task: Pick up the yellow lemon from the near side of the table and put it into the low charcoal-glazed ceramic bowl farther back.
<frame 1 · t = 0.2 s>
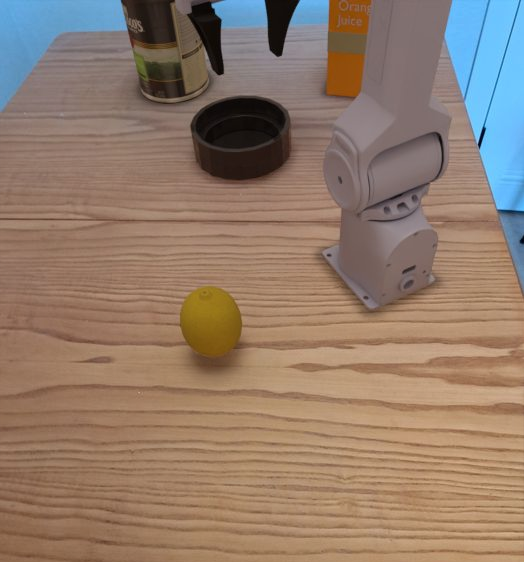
hand: (247, 62, 68), 10 cm above the table, tool pointing down, fingers open, 7 cm apart
coffee can: (175, 86, 85), on the table
bowl: (243, 154, 74), on the table
orange juice: (358, 82, 83), on the table
lemon: (216, 350, 55), on the table
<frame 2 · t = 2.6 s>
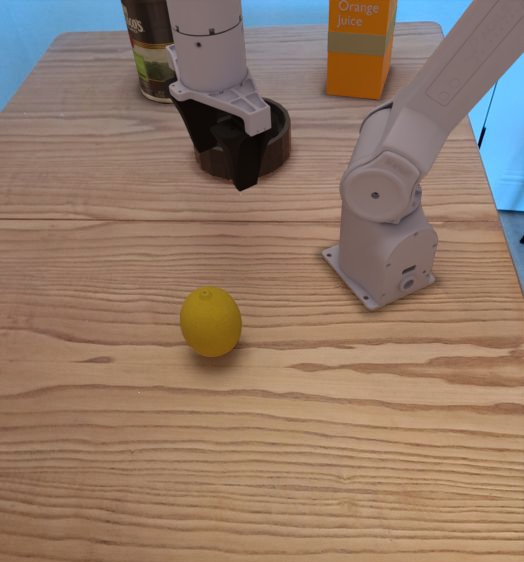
hand: (226, 166, 56), 10 cm above the table, tool pointing down, fingers open, 7 cm apart
nothing on the table moved.
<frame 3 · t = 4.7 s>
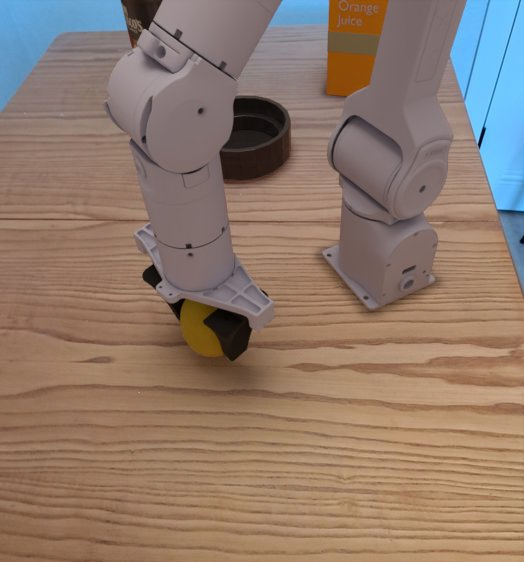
hand: (213, 336, 53), 2 cm above the table, tool pointing down, fingers closed on lemon, 5 cm apart
lemon: (217, 350, 55), on the table, touching gripper
everything else where it was.
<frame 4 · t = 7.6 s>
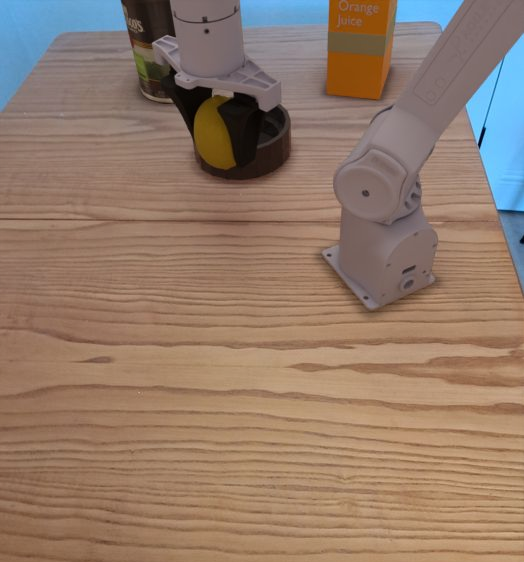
hand: (224, 151, 58), 9 cm above the table, tool pointing down, fingers closed on lemon, 5 cm apart
lemon: (226, 170, 60), point 7 cm above the table, touching gripper
everything else where it was.
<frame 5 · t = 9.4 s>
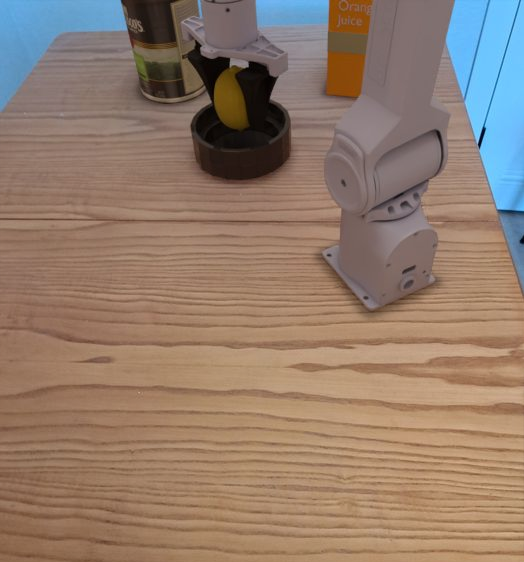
hand: (239, 115, 69), 5 cm above the table, tool pointing down, fingers closed on lemon, 5 cm apart
lemon: (240, 131, 71), point 3 cm above the table, touching gripper
everything else where it was.
when the fingers open (2 cm above the table, at t = 10.8 s): lemon stays where it is, resting on bowl.
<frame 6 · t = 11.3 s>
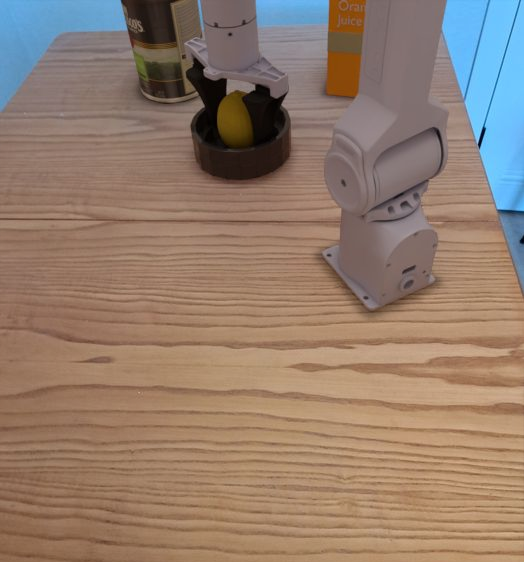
hand: (241, 132, 71), 3 cm above the table, tool pointing down, fingers open, 7 cm apart
lemon: (242, 152, 73), resting on bowl
everything else where it was.
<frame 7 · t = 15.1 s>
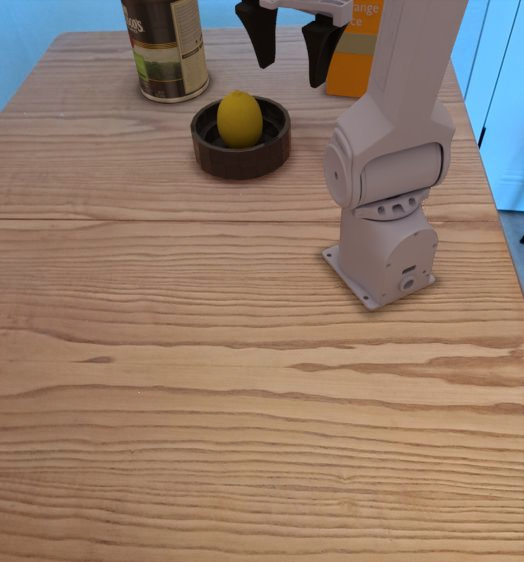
hand: (292, 74, 67), 9 cm above the table, tool pointing down, fingers open, 7 cm apart
nothing on the table moved.
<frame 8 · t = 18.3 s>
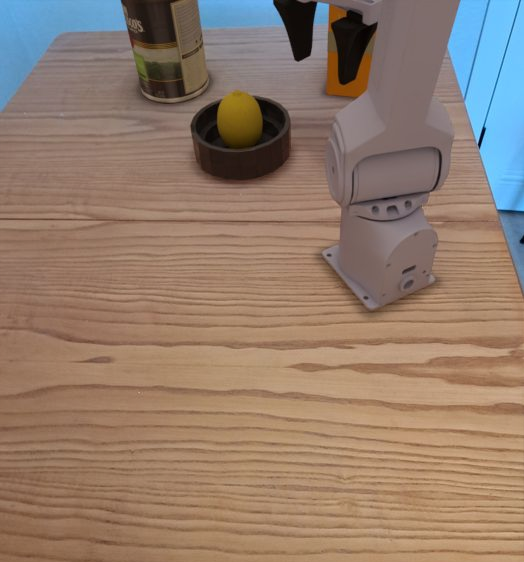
hand: (324, 69, 67), 9 cm above the table, tool pointing down, fingers open, 7 cm apart
nothing on the table moved.
at the end: lemon 0.1 cm off-centre in the bowl, point 0.3 cm above the bowl's base; the gripper is holding nothing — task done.
